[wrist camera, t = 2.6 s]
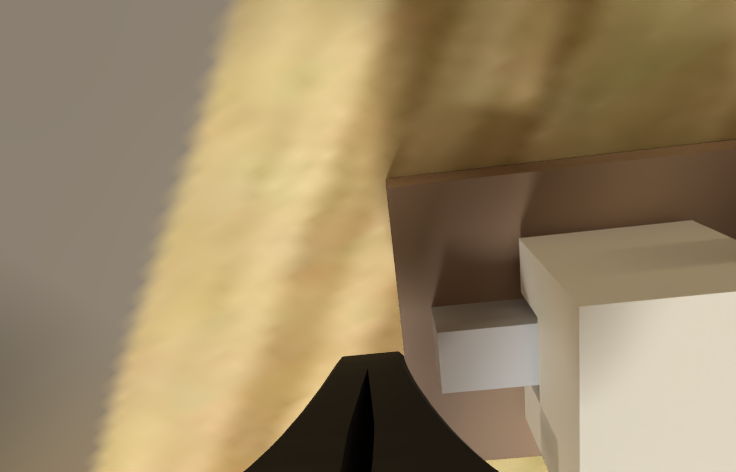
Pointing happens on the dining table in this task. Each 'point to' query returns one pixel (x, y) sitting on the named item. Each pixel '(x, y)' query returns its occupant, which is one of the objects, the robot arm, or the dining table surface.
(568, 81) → the dining table surface
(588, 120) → the dining table surface
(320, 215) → the dining table surface
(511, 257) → the rail board
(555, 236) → the slider
